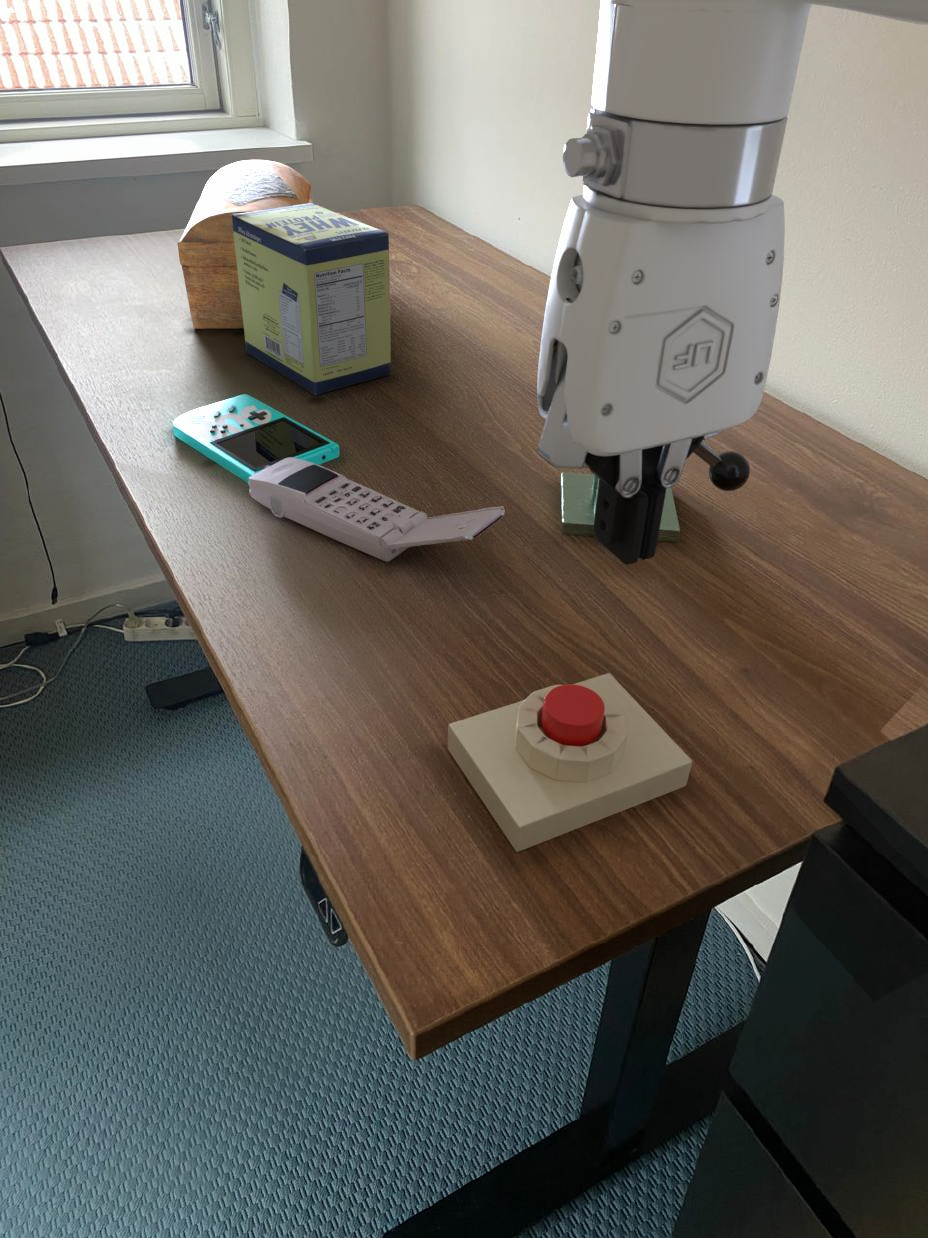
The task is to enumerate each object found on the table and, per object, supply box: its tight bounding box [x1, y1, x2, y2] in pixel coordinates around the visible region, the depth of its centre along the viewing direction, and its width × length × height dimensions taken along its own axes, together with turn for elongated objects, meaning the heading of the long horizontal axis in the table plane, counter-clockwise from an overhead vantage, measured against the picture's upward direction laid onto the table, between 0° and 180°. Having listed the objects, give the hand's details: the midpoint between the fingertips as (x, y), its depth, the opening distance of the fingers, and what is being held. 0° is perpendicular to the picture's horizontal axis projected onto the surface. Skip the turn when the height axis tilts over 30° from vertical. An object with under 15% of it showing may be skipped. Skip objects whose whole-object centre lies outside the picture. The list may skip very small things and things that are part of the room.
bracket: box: [559, 471, 681, 543], centre depth 79 cm, size 10×9×13 cm
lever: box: [693, 440, 751, 492], centre depth 78 cm, size 14×3×3 cm
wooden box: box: [177, 159, 314, 330], centre depth 123 cm, size 30×16×14 cm, turn 6°
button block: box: [447, 672, 693, 853], centre depth 57 cm, size 12×9×4 cm
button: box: [541, 684, 605, 746], centre depth 55 cm, size 4×4×2 cm
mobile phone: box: [247, 457, 506, 563], centre depth 77 cm, size 6×6×25 cm
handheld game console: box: [172, 393, 341, 484], centre depth 91 cm, size 10×16×1 cm, turn 45°
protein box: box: [231, 202, 392, 396], centre depth 103 cm, size 10×16×16 cm
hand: (623, 547), depth 48 cm, fingers closed
